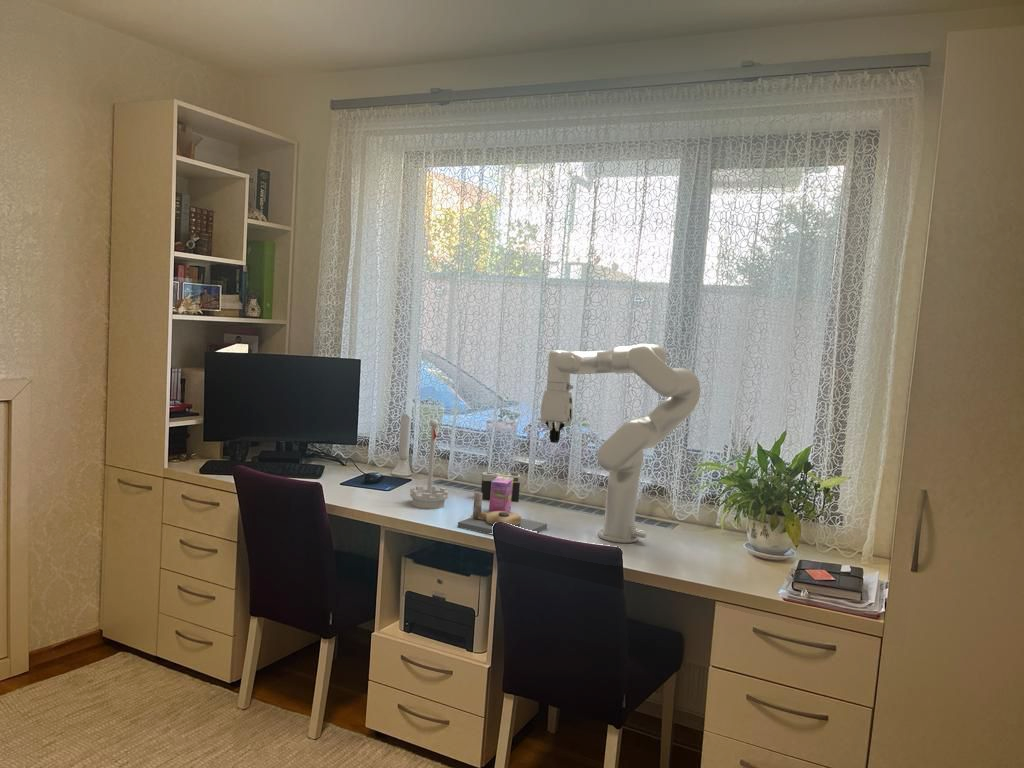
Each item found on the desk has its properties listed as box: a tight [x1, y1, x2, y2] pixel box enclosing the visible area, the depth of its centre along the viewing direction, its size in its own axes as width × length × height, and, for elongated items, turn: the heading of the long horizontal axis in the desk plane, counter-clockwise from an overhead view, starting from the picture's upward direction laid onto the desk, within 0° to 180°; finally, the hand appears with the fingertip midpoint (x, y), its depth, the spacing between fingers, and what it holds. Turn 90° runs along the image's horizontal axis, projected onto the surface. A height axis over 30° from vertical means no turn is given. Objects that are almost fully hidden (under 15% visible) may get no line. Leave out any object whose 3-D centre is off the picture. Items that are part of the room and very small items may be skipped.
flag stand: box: [409, 418, 449, 510], centre depth 278 cm, size 13×13×30 cm
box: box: [488, 476, 513, 512], centre depth 274 cm, size 10×6×12 cm, turn 168°
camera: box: [480, 471, 521, 503], centre depth 293 cm, size 14×8×10 cm, turn 95°
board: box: [457, 510, 548, 534], centre depth 257 cm, size 22×21×2 cm
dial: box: [472, 491, 522, 526], centre depth 256 cm, size 16×11×8 cm
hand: (554, 442), depth 268 cm, fingers closed
